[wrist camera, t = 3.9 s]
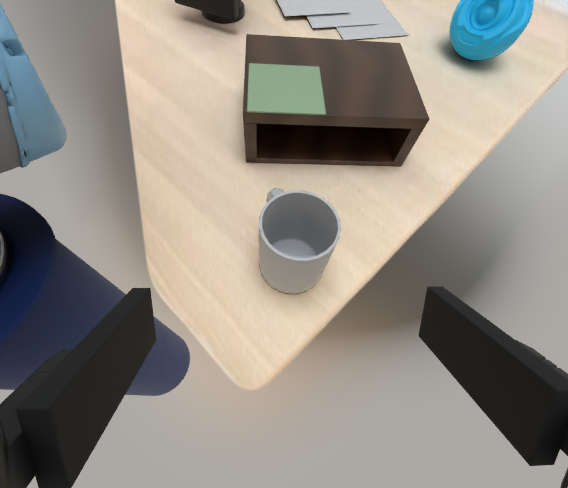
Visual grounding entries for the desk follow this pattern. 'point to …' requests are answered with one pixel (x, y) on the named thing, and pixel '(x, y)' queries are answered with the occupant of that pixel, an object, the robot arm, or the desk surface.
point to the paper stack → (347, 17)
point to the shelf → (329, 102)
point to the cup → (296, 239)
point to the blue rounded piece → (488, 26)
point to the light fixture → (217, 9)
